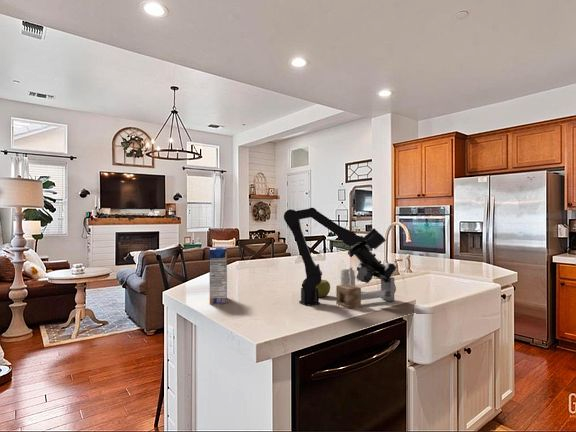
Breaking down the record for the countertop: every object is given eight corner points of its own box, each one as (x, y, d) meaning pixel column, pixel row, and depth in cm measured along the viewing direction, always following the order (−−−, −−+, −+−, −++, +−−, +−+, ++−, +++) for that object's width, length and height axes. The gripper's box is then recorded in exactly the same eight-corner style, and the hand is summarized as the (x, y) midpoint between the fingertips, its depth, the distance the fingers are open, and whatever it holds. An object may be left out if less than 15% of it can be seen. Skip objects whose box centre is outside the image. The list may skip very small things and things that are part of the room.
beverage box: (209, 304, 143) (209, 249, 144) (210, 298, 154) (210, 247, 154) (226, 303, 145) (226, 249, 145) (226, 297, 156) (226, 247, 156)
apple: (328, 299, 153) (328, 282, 153) (310, 297, 155) (310, 281, 155) (331, 295, 160) (331, 279, 160) (314, 294, 162) (314, 278, 162)
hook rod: (349, 306, 137) (349, 281, 137) (340, 303, 143) (340, 279, 143) (396, 300, 148) (396, 277, 148) (386, 297, 153) (386, 275, 153)
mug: (353, 289, 174) (353, 264, 174) (360, 294, 162) (360, 267, 162) (338, 289, 173) (338, 264, 173) (344, 294, 161) (344, 268, 161)
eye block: (348, 308, 136) (348, 289, 136) (336, 304, 143) (336, 285, 143) (360, 307, 138) (360, 287, 139) (348, 302, 146) (348, 284, 146)
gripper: (340, 268, 149) (361, 292, 154) (368, 274, 133) (391, 301, 137) (355, 249, 153) (376, 273, 157) (385, 252, 136) (407, 279, 141)
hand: (386, 281), depth 148 cm, fingers closed
